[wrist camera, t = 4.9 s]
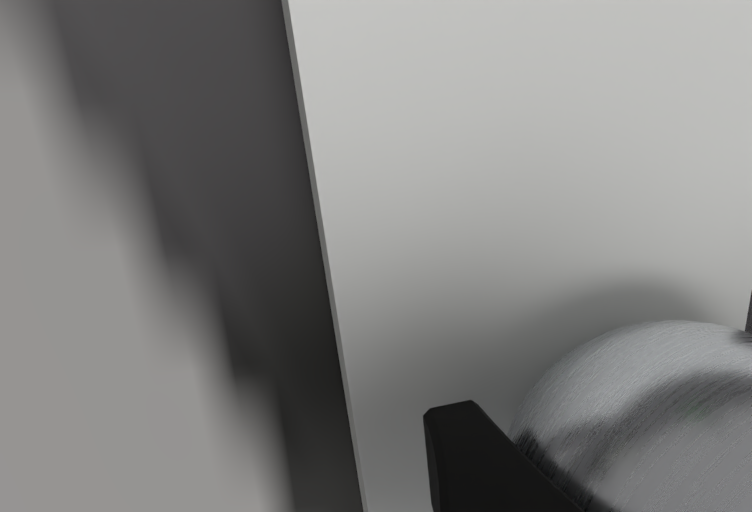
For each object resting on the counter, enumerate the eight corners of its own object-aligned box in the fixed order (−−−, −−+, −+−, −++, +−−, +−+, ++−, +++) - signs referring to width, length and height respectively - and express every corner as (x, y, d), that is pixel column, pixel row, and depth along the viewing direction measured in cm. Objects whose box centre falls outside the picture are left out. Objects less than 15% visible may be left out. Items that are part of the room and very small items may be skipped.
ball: (667, 470, 13) (965, 688, 9) (448, 583, 11) (687, 919, 7) (679, 235, 11) (1068, 370, 7) (417, 328, 10) (721, 582, 5)
